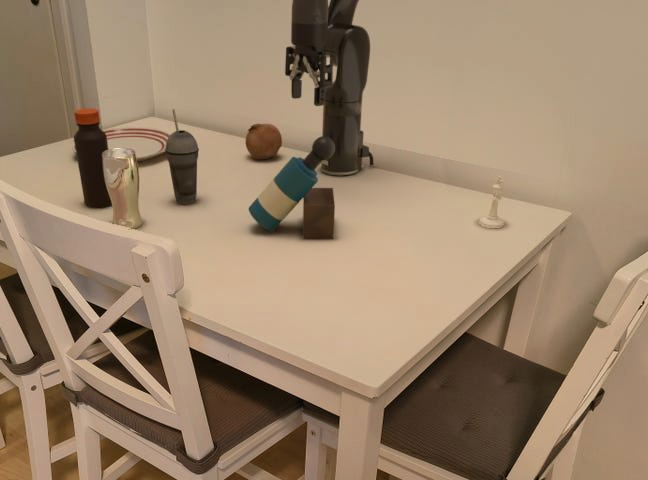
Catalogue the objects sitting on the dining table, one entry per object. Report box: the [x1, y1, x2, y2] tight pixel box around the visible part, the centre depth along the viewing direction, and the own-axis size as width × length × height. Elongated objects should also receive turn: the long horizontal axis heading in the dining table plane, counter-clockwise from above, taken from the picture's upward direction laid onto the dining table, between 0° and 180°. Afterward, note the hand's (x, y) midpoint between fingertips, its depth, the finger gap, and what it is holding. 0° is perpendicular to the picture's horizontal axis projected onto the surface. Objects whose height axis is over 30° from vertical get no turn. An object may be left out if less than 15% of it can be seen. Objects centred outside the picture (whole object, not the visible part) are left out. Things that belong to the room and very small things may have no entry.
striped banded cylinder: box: [248, 135, 335, 232], centre depth 136 cm, size 17×7×19 cm, turn 88°
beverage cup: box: [164, 108, 200, 206], centre depth 149 cm, size 7×7×20 cm
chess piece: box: [478, 175, 505, 229], centre depth 139 cm, size 5×5×10 cm
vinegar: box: [73, 107, 112, 209], centre depth 148 cm, size 7×7×20 cm
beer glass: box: [102, 148, 143, 230], centre depth 139 cm, size 7×7×15 cm
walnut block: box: [302, 187, 336, 240], centre depth 139 cm, size 6×10×7 cm, turn 178°
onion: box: [245, 123, 283, 160], centre depth 179 cm, size 10×9×10 cm
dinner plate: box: [71, 126, 172, 163], centre depth 184 cm, size 27×27×3 cm
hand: (307, 101), depth 150 cm, fingers open, 8 cm apart
